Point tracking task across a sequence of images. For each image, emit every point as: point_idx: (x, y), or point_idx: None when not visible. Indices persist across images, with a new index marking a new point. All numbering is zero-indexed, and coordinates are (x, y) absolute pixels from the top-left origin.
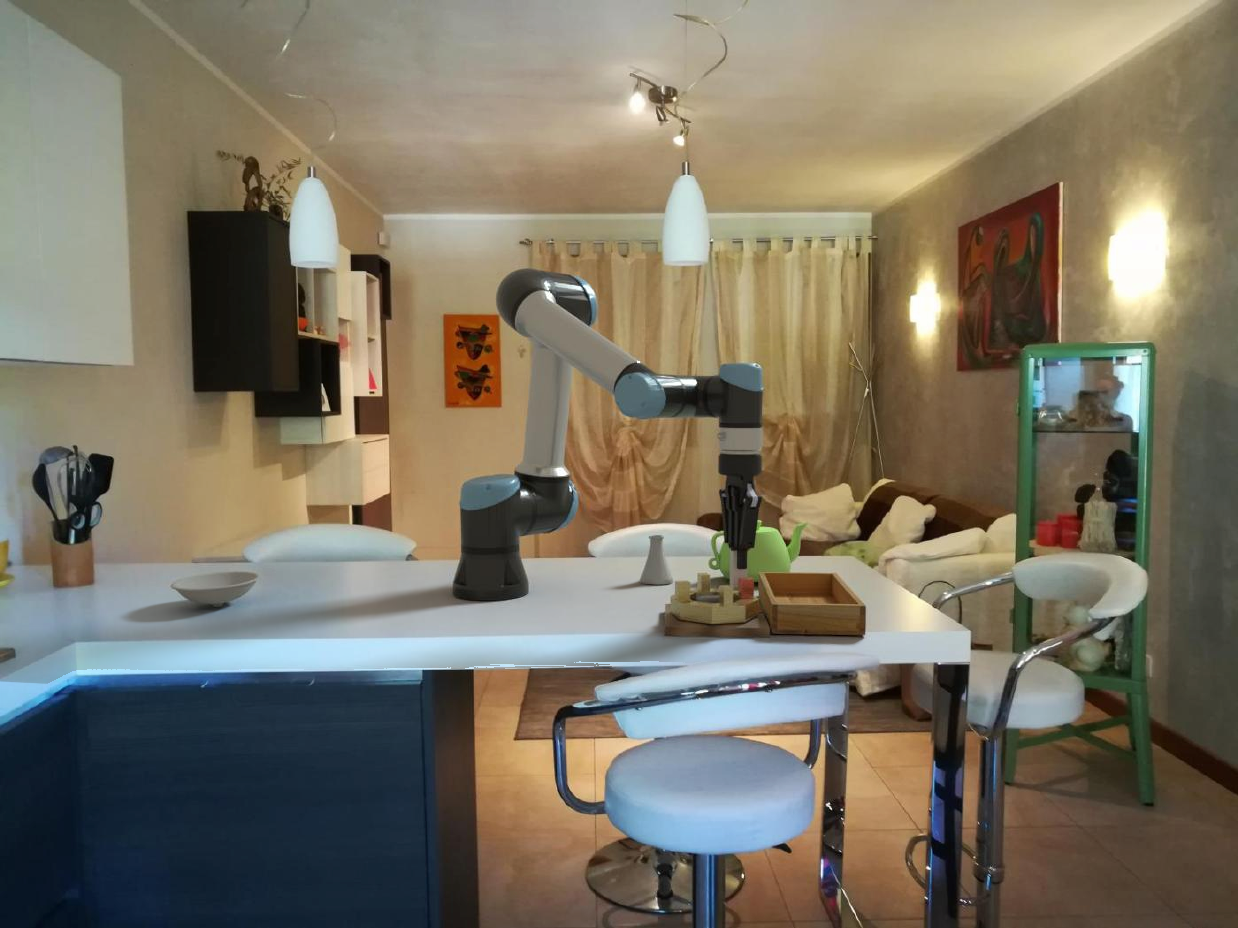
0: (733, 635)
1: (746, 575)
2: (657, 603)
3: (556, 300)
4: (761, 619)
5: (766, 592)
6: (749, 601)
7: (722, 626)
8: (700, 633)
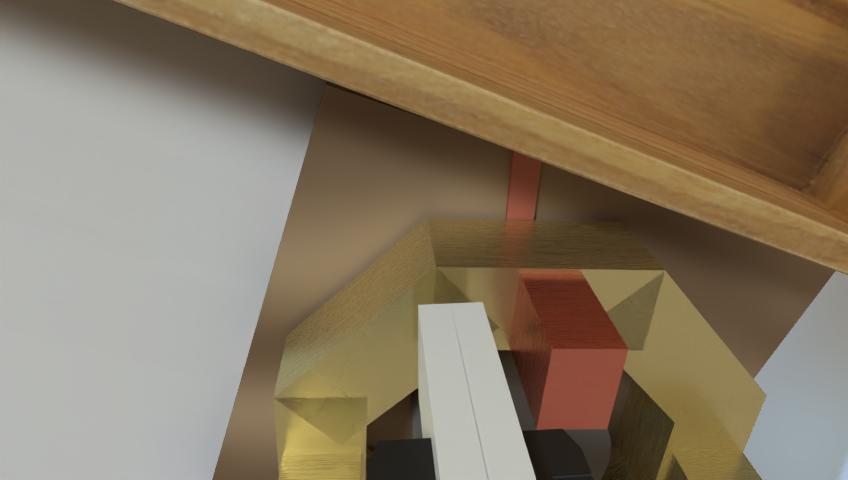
0: None
1: (498, 364)
2: (18, 476)
3: None
4: (678, 229)
5: (535, 157)
6: (698, 346)
7: None
8: None
